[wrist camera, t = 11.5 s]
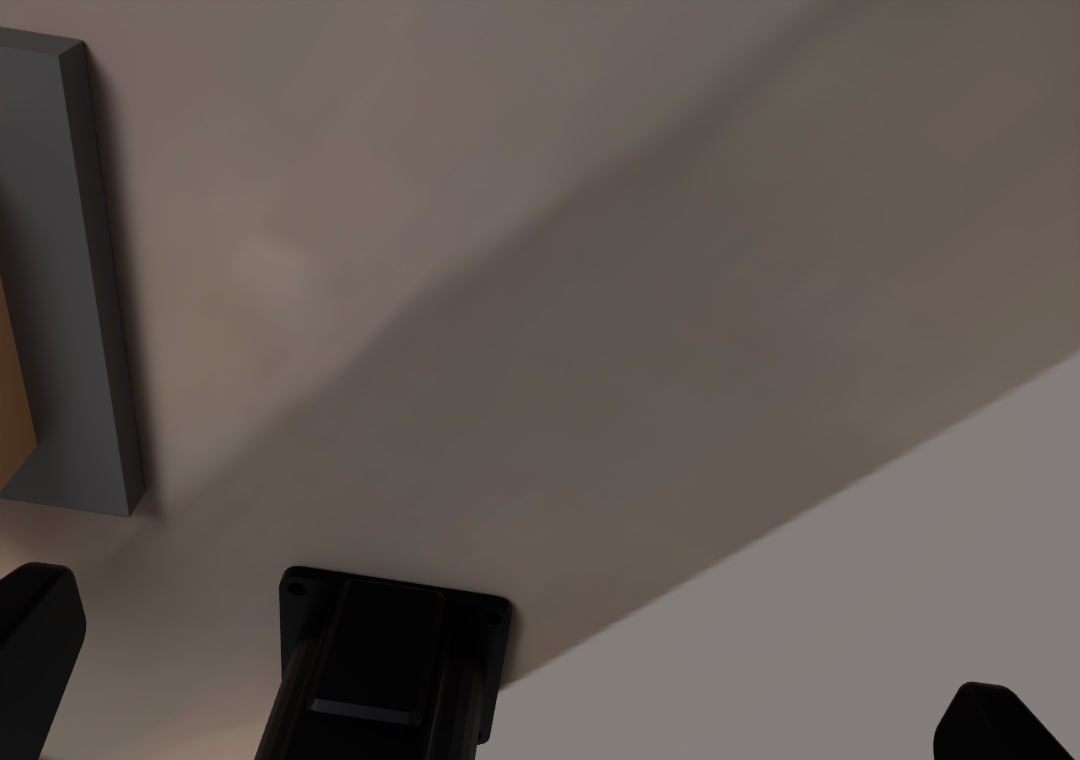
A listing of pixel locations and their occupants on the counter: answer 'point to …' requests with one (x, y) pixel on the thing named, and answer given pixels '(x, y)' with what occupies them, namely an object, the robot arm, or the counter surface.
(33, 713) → the robot arm
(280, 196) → the counter surface
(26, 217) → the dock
